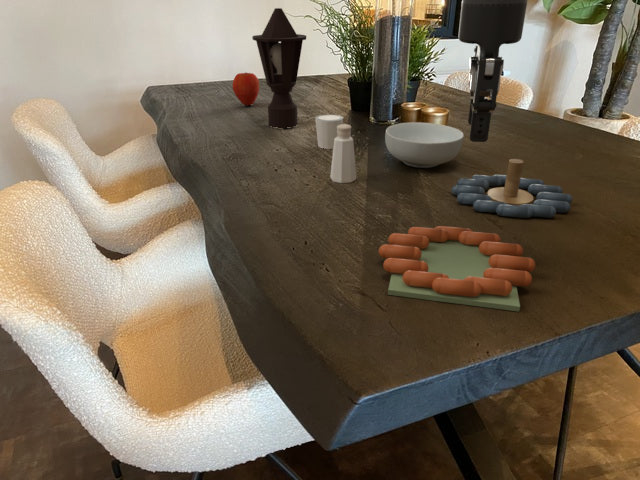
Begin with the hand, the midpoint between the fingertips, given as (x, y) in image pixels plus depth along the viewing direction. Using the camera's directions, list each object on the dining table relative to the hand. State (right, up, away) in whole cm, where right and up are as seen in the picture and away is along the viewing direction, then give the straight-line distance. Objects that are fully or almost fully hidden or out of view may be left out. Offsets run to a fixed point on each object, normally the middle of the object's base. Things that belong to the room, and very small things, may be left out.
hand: (476, 132), depth 66 cm
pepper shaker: (-17, -2, +34) cm, 38 cm away
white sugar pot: (-19, +9, +55) cm, 58 cm away
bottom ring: (+14, -7, +24) cm, 28 cm away
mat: (-3, -19, +2) cm, 19 cm away
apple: (-45, +29, +94) cm, 108 cm away
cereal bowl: (+1, +2, +43) cm, 43 cm away
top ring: (-3, -18, +2) cm, 18 cm away
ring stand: (+13, -7, +23) cm, 28 cm away
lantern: (-32, +18, +72) cm, 81 cm away
